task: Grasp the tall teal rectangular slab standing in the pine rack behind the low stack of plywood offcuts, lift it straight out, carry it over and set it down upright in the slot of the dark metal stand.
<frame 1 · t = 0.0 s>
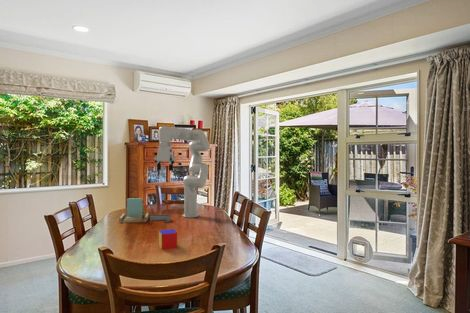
hand: (164, 170, 211), 37 cm above the table, tool pointing down, fingers open, 9 cm apart
rack: (134, 221, 223), on the table
stand: (160, 221, 224), on the table
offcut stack: (133, 221, 218), resting on rack
chalk box: (135, 216, 242), on the table
teal rectangular slab: (134, 219, 223), point 1 cm above the table, touching rack
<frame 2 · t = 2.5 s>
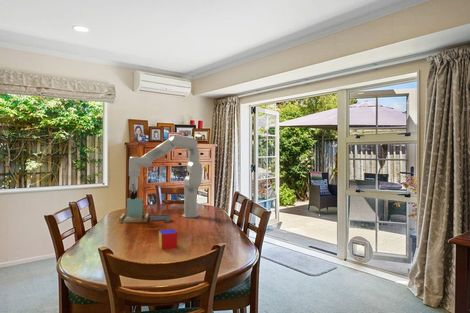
hand: (133, 198, 222), 17 cm above the table, tool pointing down, fingers open, 9 cm apart
nothing on the table moved.
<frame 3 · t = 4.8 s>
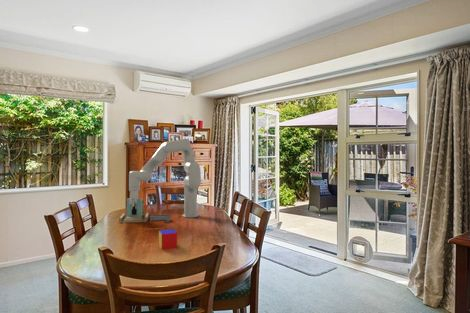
hand: (134, 214, 223), 5 cm above the table, tool pointing down, fingers closed on teal rectangular slab, 2 cm apart
teal rectangular slab: (134, 219, 223), point 1 cm above the table, touching gripper
everything else where it was.
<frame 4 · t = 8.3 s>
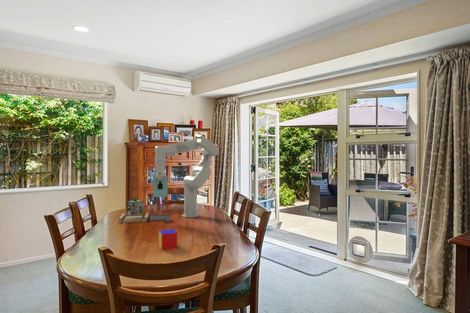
hand: (160, 188, 224), 23 cm above the table, tool pointing down, fingers closed on teal rectangular slab
teal rectangular slab: (160, 196, 224), point 17 cm above the table, touching gripper
everything else where it was.
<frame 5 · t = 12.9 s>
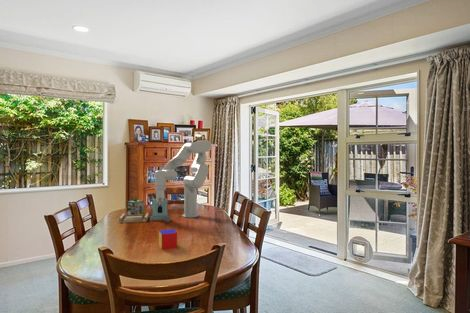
hand: (160, 211, 224), 7 cm above the table, tool pointing down, fingers open, 9 cm apart
teal rectangular slab: (159, 219, 224), point 1 cm above the table, touching stand
everything else where it was.
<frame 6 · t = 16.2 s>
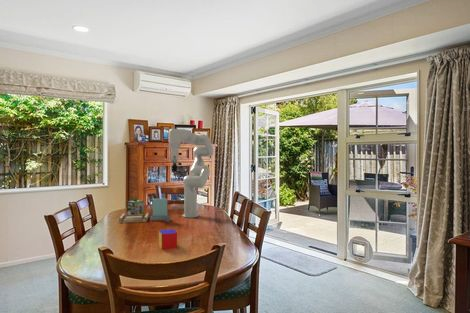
hand: (174, 170, 219), 36 cm above the table, tool pointing down, fingers open, 9 cm apart
nothing on the table moved.
at the end: teal rectangular slab 0.2 cm off-centre on the stand, point 1.0 cm above the stand's base; teal rectangular slab tilted 0°; the gripper is holding nothing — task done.
